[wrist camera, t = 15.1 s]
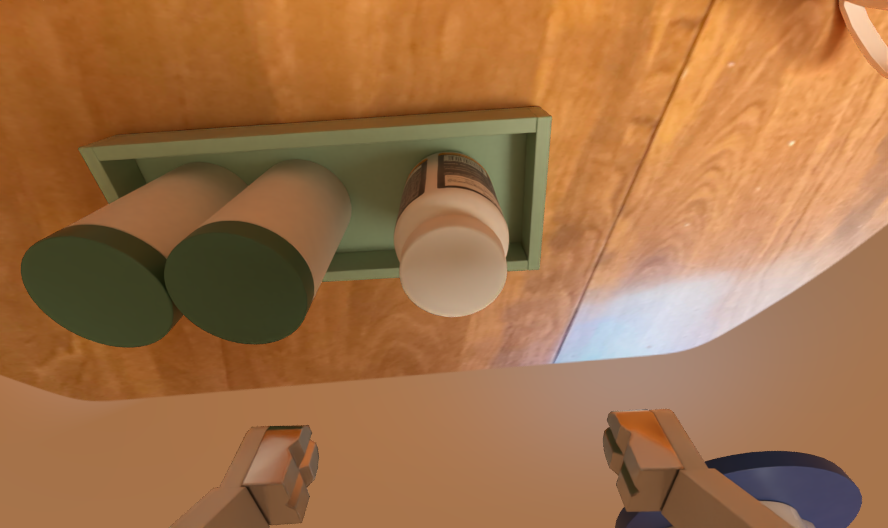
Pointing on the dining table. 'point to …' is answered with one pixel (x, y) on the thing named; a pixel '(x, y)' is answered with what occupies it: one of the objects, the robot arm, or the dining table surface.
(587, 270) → the dining table surface
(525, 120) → the bottle tray
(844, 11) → the cup
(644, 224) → the dining table surface
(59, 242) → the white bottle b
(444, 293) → the pill bottle
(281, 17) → the dining table surface
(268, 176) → the white bottle
